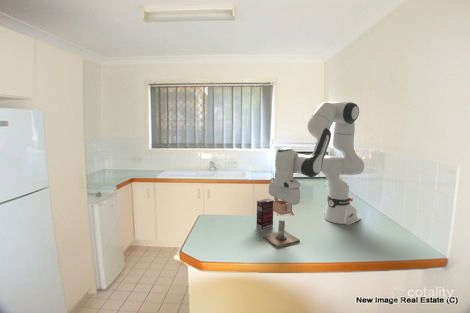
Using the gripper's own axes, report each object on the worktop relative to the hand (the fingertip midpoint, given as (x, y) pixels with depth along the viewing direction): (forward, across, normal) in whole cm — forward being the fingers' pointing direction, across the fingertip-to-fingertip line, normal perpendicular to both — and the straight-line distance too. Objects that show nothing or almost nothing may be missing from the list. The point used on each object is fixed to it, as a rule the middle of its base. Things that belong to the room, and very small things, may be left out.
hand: (282, 208), depth 133 cm
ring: (+2, 0, 0) cm, 2 cm away
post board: (+17, 0, 0) cm, 17 cm away
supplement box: (+17, -16, +1) cm, 24 cm away
